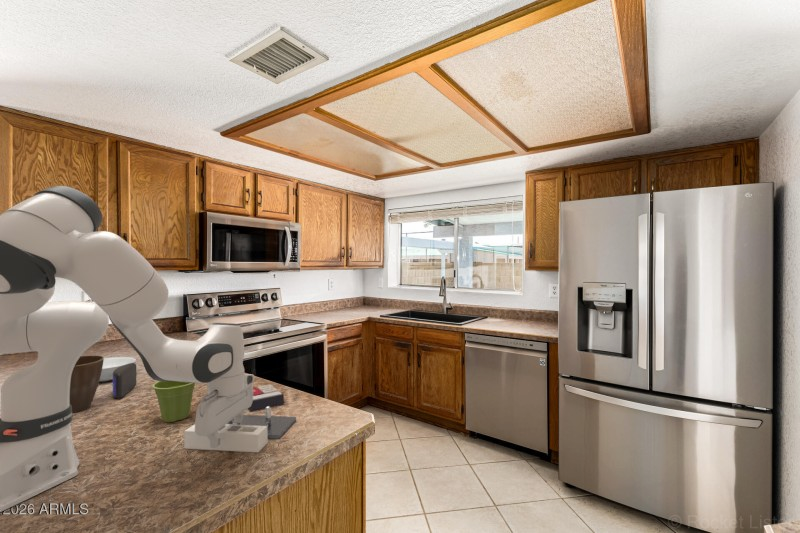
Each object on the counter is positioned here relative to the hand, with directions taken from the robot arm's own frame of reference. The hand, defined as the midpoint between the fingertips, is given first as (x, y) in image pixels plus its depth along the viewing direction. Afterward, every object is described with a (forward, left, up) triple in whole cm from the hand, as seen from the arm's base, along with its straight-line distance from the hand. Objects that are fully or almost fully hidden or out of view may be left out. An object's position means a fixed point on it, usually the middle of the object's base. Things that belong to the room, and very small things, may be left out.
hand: (226, 437), depth 96 cm
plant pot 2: (+16, +26, -3) cm, 31 cm away
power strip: (+1, 0, -2) cm, 2 cm away
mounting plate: (+12, 0, -2) cm, 12 cm away
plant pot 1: (+19, +64, -3) cm, 67 cm away
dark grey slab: (+35, +61, -3) cm, 71 cm away
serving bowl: (+50, +84, -3) cm, 98 cm away
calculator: (+32, +7, -3) cm, 32 cm away
